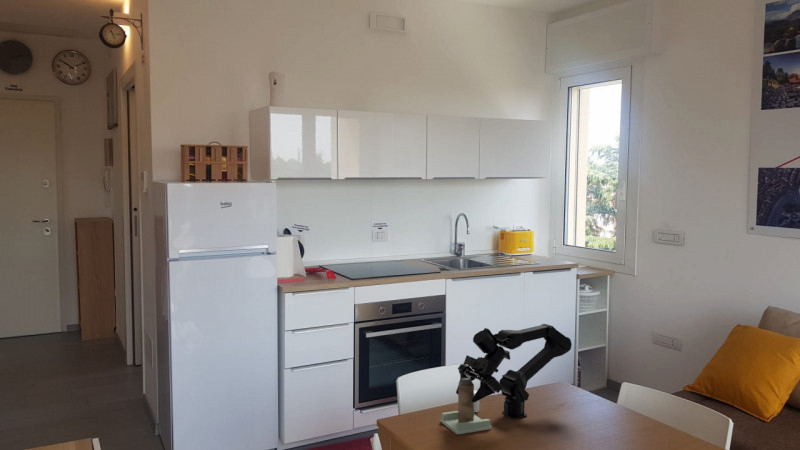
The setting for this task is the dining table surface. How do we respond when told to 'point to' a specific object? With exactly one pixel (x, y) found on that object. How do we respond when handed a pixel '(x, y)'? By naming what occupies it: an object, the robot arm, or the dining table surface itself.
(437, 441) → the dining table surface
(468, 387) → the pepper mill
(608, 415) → the dining table surface
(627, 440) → the dining table surface
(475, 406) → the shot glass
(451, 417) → the tray
